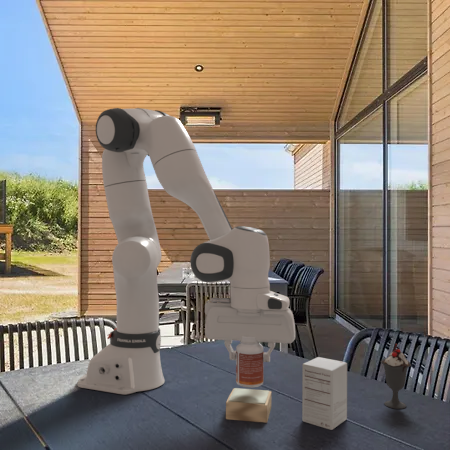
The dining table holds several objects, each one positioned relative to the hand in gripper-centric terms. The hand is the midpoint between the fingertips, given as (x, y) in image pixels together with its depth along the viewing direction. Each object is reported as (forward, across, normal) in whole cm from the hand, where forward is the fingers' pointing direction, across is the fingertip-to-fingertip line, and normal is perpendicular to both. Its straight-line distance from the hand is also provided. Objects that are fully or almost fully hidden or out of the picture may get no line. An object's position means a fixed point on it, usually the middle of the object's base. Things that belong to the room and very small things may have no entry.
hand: (249, 360), depth 111 cm
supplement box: (+12, +16, -1) cm, 21 cm away
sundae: (+12, +33, +12) cm, 37 cm away
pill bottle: (+6, 0, 0) cm, 6 cm away
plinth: (+12, 0, 0) cm, 12 cm away
